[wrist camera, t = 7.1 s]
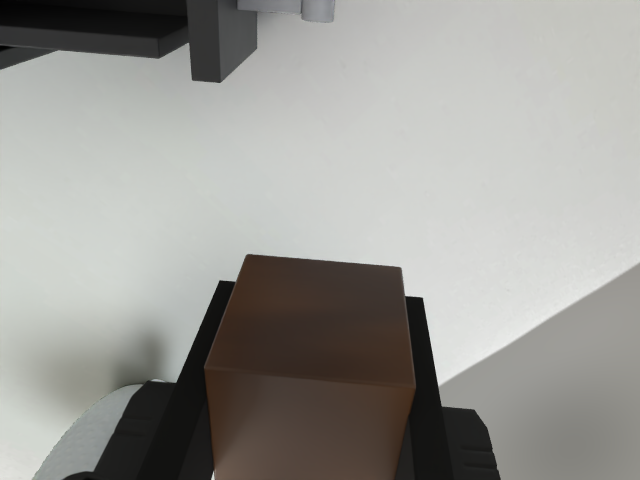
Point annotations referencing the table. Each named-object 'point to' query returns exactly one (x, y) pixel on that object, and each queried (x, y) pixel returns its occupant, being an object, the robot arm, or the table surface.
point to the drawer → (151, 28)
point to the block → (310, 372)
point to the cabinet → (19, 55)
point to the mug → (87, 437)
